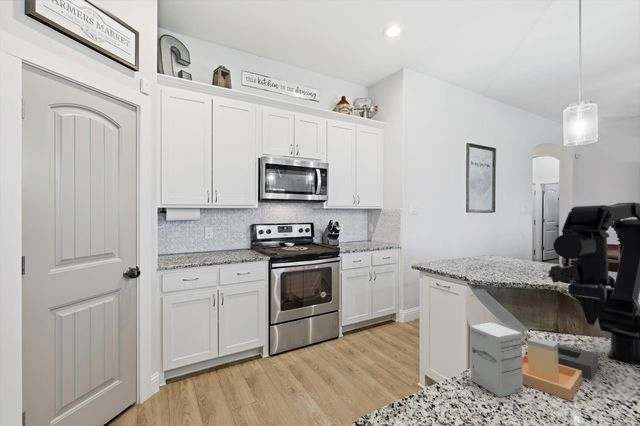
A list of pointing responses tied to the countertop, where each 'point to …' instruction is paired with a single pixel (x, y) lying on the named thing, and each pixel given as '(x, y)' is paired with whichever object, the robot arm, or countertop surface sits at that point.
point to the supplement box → (496, 358)
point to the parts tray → (561, 388)
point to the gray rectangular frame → (578, 360)
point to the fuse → (543, 359)
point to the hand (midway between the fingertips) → (594, 320)
